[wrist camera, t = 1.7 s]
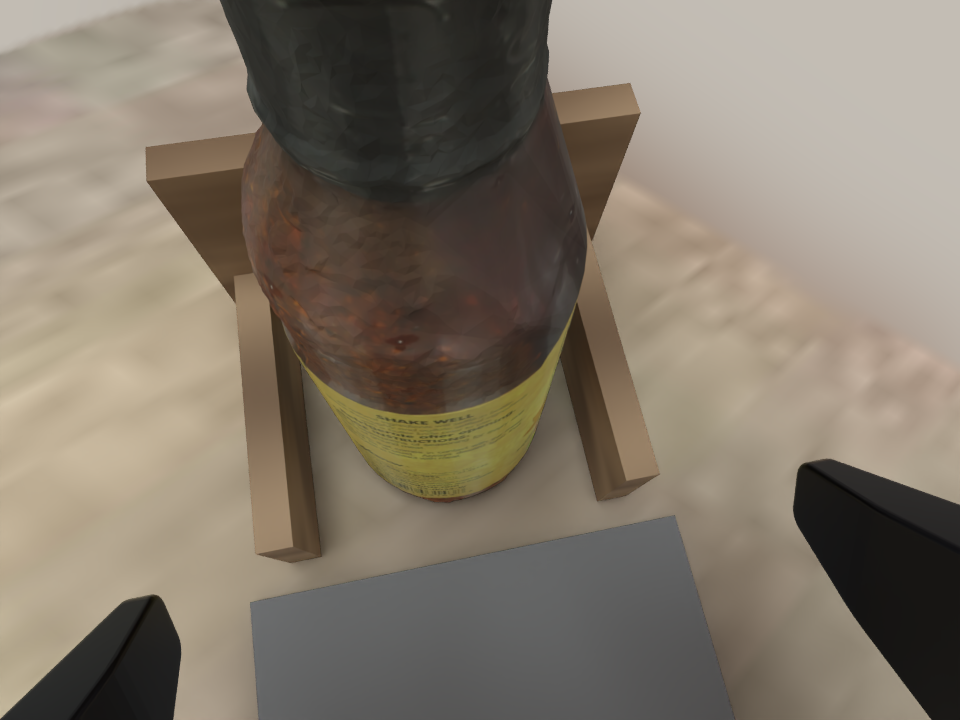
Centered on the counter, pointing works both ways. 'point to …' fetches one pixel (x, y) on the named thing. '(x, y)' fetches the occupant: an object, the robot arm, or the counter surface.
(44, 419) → the counter surface
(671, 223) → the counter surface
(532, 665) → the charcoal mat
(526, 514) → the counter surface
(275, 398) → the bottle rack
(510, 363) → the sauce bottle
